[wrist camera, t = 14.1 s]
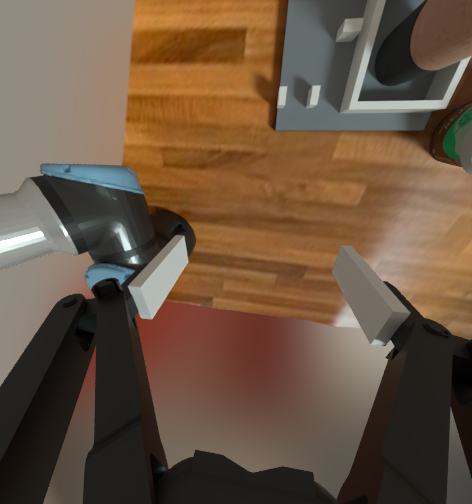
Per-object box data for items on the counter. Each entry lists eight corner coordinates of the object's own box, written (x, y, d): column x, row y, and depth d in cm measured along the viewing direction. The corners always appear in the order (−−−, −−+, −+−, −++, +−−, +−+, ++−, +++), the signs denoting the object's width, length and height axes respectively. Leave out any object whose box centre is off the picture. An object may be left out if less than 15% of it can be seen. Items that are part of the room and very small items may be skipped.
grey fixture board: (275, 130, 36) (275, 130, 34) (291, -28, 26) (292, -37, 24) (417, 130, 33) (423, 130, 32) (495, -46, 23) (510, -58, 22)
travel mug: (384, 19, 26) (617, -216, 9) (442, 16, 25) (818, -248, 8) (364, 89, 30) (499, 17, 13) (414, 88, 29) (627, 10, 12)
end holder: (339, 113, 32) (348, 109, 28) (370, -14, 25) (388, -40, 21) (425, 112, 30) (445, 108, 27) (485, -24, 23) (524, -52, 20)
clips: (276, 108, 33) (277, 105, 30) (289, -22, 25) (292, -40, 23) (336, 107, 32) (342, 104, 29) (368, -28, 24) (380, -49, 22)
